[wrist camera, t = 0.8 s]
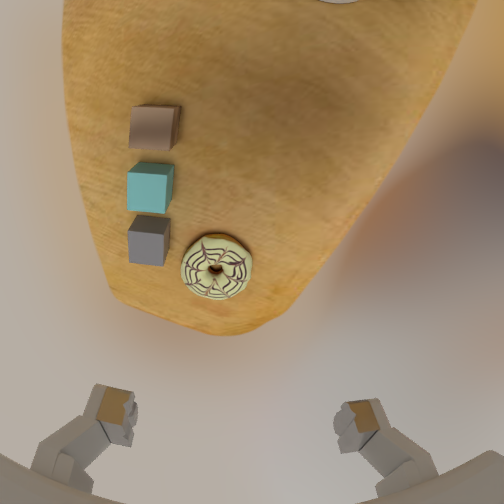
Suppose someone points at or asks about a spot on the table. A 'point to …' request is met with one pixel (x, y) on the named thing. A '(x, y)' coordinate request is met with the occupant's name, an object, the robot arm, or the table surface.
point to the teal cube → (150, 187)
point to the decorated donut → (213, 253)
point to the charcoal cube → (149, 240)
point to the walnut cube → (154, 127)
